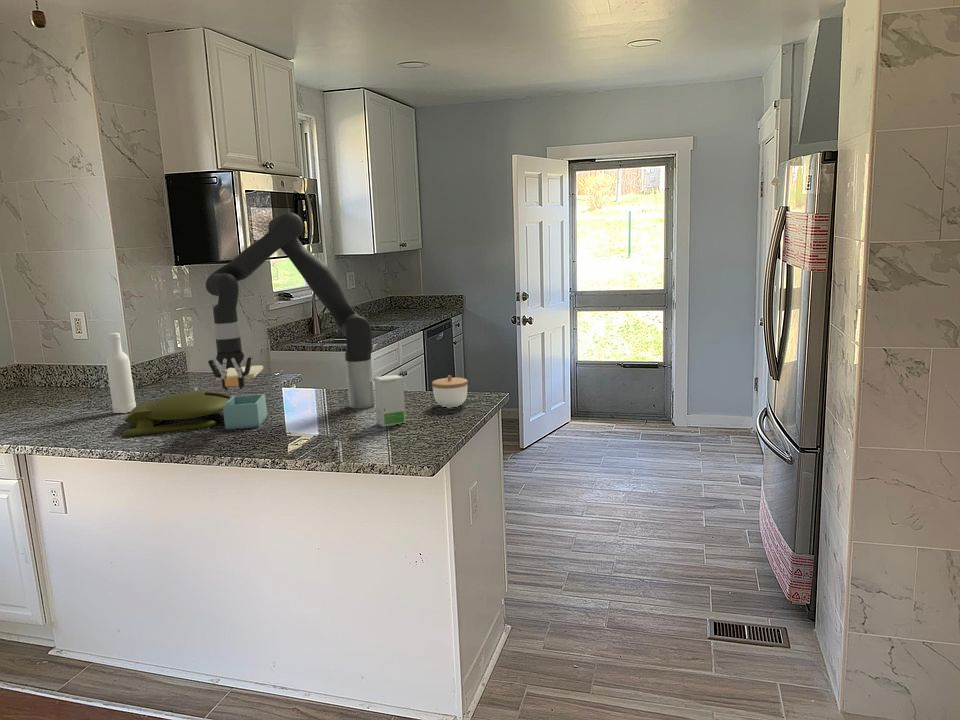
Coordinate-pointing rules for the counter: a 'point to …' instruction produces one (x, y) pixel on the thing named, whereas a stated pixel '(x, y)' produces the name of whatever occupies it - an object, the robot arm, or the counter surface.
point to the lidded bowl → (450, 391)
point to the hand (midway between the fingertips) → (234, 389)
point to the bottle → (120, 377)
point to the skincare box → (389, 400)
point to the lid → (233, 377)
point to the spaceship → (175, 412)
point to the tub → (245, 411)
